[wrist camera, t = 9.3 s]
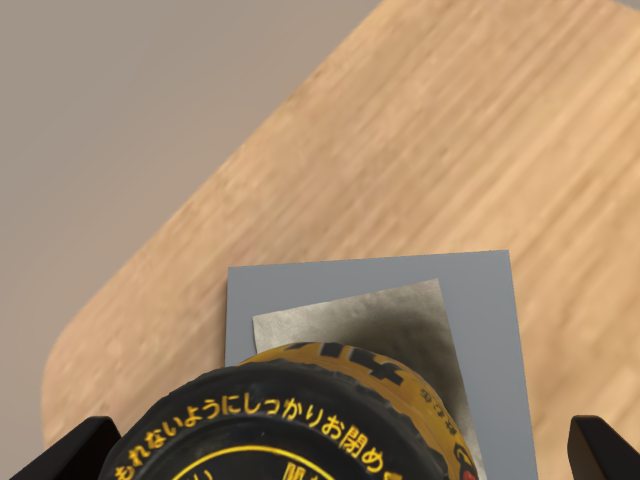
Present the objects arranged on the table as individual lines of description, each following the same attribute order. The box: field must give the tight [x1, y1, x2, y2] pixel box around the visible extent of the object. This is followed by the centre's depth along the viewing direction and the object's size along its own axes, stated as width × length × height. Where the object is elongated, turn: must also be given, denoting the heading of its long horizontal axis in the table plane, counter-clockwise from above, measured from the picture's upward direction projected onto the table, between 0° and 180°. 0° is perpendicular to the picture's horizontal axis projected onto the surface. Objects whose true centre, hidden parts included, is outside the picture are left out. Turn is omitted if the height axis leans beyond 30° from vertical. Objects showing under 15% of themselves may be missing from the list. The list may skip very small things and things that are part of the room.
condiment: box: [98, 278, 487, 480], centre depth 11 cm, size 7×8×12 cm
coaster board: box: [225, 250, 538, 480], centre depth 17 cm, size 11×11×1 cm
